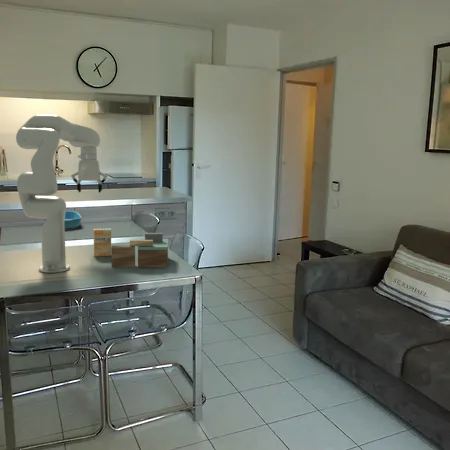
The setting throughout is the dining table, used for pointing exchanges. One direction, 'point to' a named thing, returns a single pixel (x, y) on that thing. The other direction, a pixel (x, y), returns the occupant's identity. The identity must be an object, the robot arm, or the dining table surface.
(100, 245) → the supplement box
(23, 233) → the dining table surface
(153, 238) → the lid
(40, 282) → the dining table surface
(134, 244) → the tan wooden bar
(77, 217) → the casserole dish
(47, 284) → the dining table surface
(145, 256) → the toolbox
